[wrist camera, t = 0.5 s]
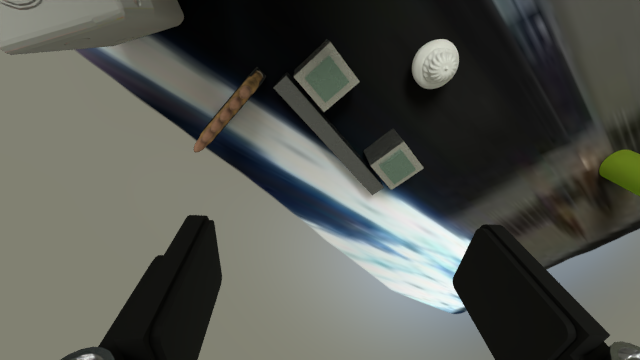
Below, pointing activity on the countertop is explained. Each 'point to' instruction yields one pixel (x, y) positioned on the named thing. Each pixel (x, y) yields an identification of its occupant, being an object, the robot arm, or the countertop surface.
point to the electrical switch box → (81, 23)
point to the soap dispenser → (623, 170)
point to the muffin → (435, 64)
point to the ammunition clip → (230, 108)
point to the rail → (326, 89)
